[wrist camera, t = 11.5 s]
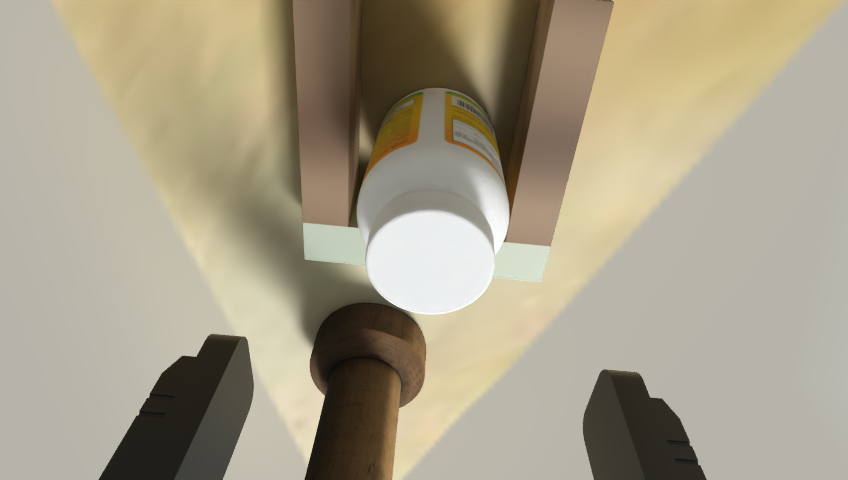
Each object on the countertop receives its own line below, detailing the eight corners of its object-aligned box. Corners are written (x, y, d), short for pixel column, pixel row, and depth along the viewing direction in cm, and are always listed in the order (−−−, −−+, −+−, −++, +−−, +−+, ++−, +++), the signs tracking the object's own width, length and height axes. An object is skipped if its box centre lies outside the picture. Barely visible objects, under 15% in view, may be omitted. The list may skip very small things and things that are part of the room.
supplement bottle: (381, 195, 26) (349, 332, 17) (374, 85, 23) (330, 187, 15) (492, 195, 25) (512, 334, 17) (498, 84, 22) (526, 187, 14)
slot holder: (311, -39, 20) (291, -31, 18) (593, -10, 20) (614, 2, 18) (318, 226, 27) (304, 259, 24) (532, 246, 27) (541, 282, 24)
